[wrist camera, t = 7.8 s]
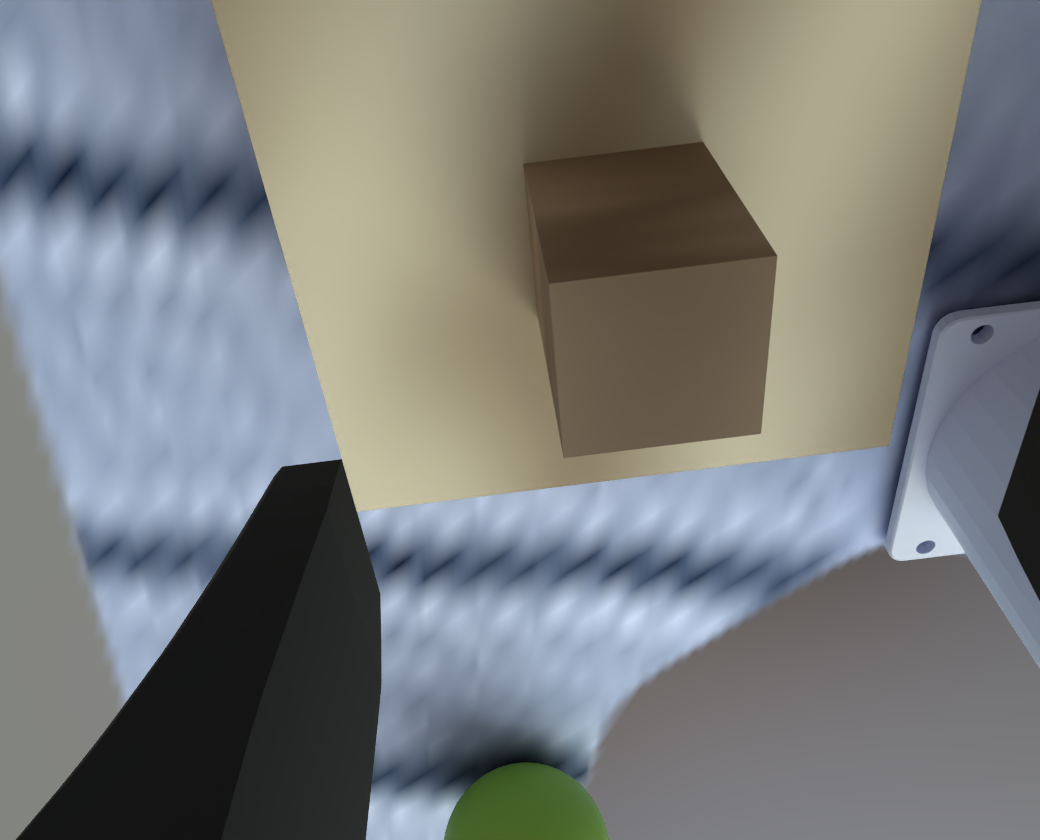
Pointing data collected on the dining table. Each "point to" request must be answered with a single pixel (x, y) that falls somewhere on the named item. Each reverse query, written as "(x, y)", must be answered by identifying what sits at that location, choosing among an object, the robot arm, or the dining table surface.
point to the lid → (600, 225)
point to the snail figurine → (526, 807)
